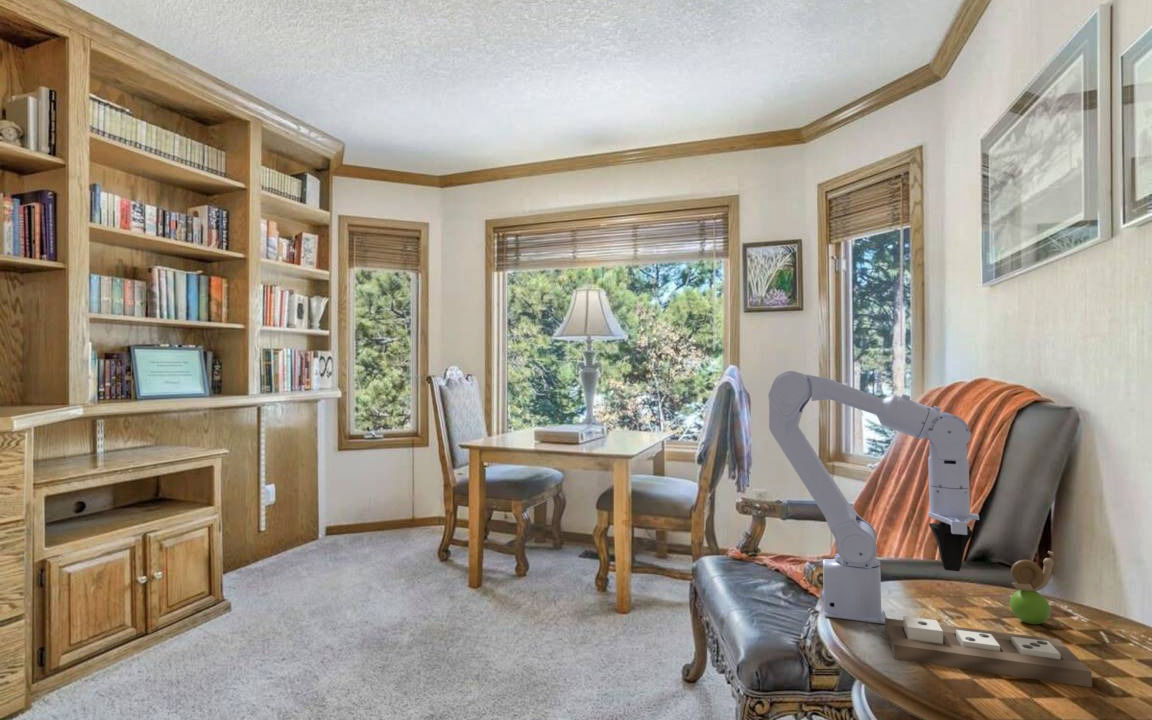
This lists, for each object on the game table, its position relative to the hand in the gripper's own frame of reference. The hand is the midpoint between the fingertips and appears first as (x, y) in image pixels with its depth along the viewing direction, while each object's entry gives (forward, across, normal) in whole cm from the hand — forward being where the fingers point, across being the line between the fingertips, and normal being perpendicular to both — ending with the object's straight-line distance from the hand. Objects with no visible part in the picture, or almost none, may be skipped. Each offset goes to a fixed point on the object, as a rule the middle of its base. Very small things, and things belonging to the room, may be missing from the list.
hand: (951, 569), depth 98 cm
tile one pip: (+8, -11, +6) cm, 15 cm away
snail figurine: (+10, +7, -13) cm, 18 cm away
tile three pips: (+9, -11, -8) cm, 16 cm away
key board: (+9, -11, -1) cm, 14 cm away
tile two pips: (+9, -11, -1) cm, 14 cm away
